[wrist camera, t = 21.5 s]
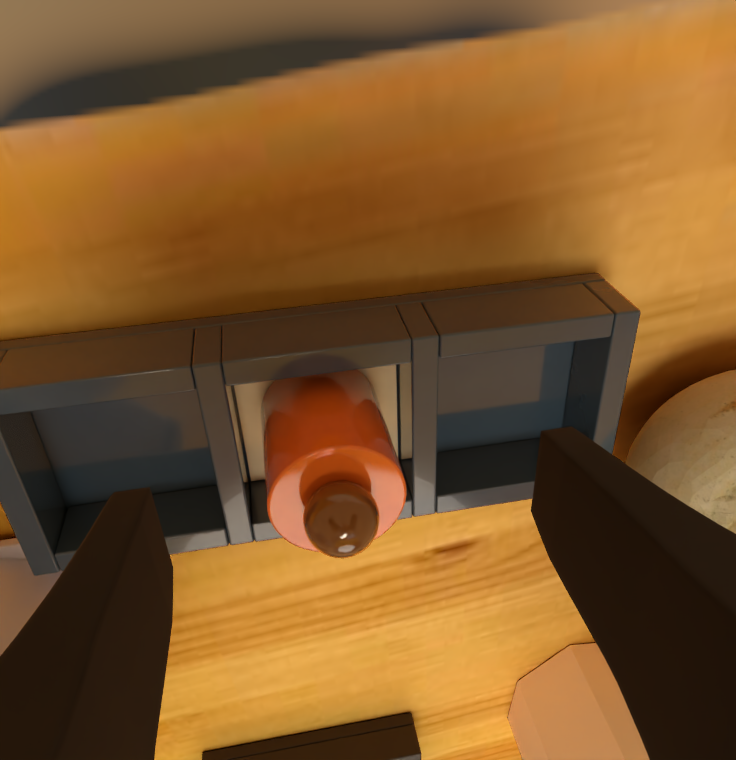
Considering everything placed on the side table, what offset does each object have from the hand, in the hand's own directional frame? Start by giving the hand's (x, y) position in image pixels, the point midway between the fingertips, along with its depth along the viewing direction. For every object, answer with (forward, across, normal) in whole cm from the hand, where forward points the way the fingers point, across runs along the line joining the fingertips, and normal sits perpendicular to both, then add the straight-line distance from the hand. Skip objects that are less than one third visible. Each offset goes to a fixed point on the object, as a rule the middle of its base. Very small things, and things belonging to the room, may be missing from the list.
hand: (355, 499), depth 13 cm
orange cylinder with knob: (+9, 0, +4) cm, 9 cm away
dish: (+9, 0, +4) cm, 10 cm away
